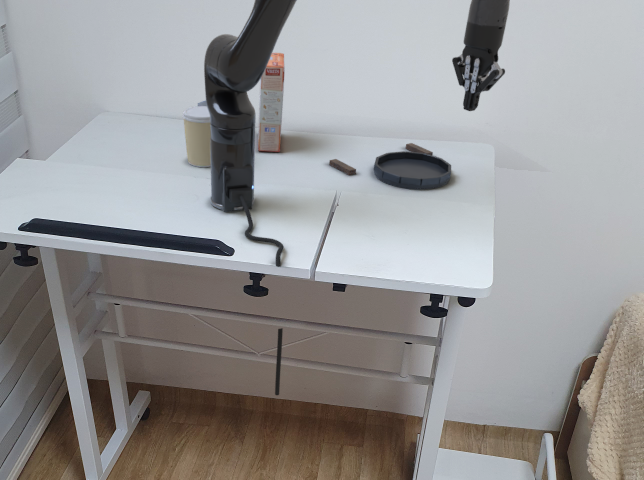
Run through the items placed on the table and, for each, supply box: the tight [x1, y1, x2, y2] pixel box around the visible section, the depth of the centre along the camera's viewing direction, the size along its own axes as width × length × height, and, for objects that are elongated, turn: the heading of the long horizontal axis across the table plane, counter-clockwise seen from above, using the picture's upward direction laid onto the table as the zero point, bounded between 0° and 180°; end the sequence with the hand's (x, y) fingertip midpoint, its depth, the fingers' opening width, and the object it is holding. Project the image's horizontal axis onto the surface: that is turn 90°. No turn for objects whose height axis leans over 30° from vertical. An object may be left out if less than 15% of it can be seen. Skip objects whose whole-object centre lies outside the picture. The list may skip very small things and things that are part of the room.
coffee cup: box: [182, 105, 211, 168], centre depth 173 cm, size 9×9×12 cm
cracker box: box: [257, 52, 286, 153], centre depth 182 cm, size 14×6×21 cm, turn 179°
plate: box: [373, 150, 452, 190], centre depth 173 cm, size 18×18×3 cm
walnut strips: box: [328, 142, 434, 176], centre depth 180 cm, size 8×27×1 cm, turn 123°
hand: (469, 109), depth 153 cm, fingers closed
